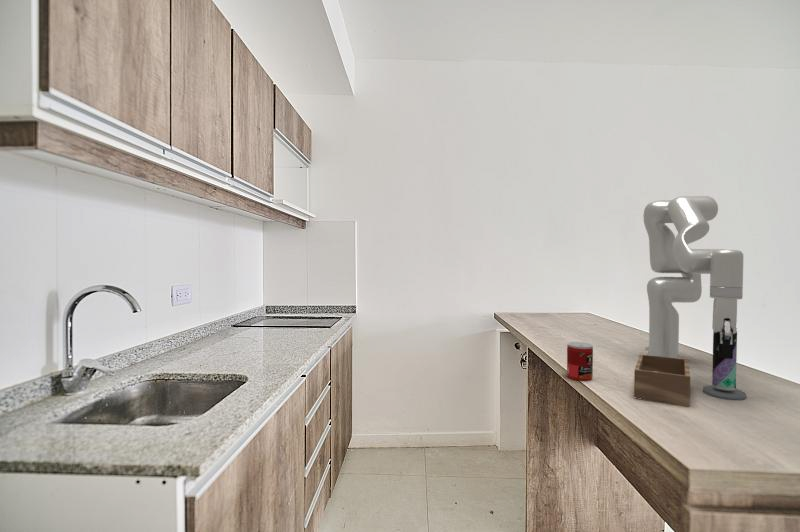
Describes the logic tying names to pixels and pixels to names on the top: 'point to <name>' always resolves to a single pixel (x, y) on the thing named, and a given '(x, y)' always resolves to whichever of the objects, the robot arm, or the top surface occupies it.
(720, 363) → the spray can
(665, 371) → the wooden box
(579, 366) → the canned food
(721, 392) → the mat
